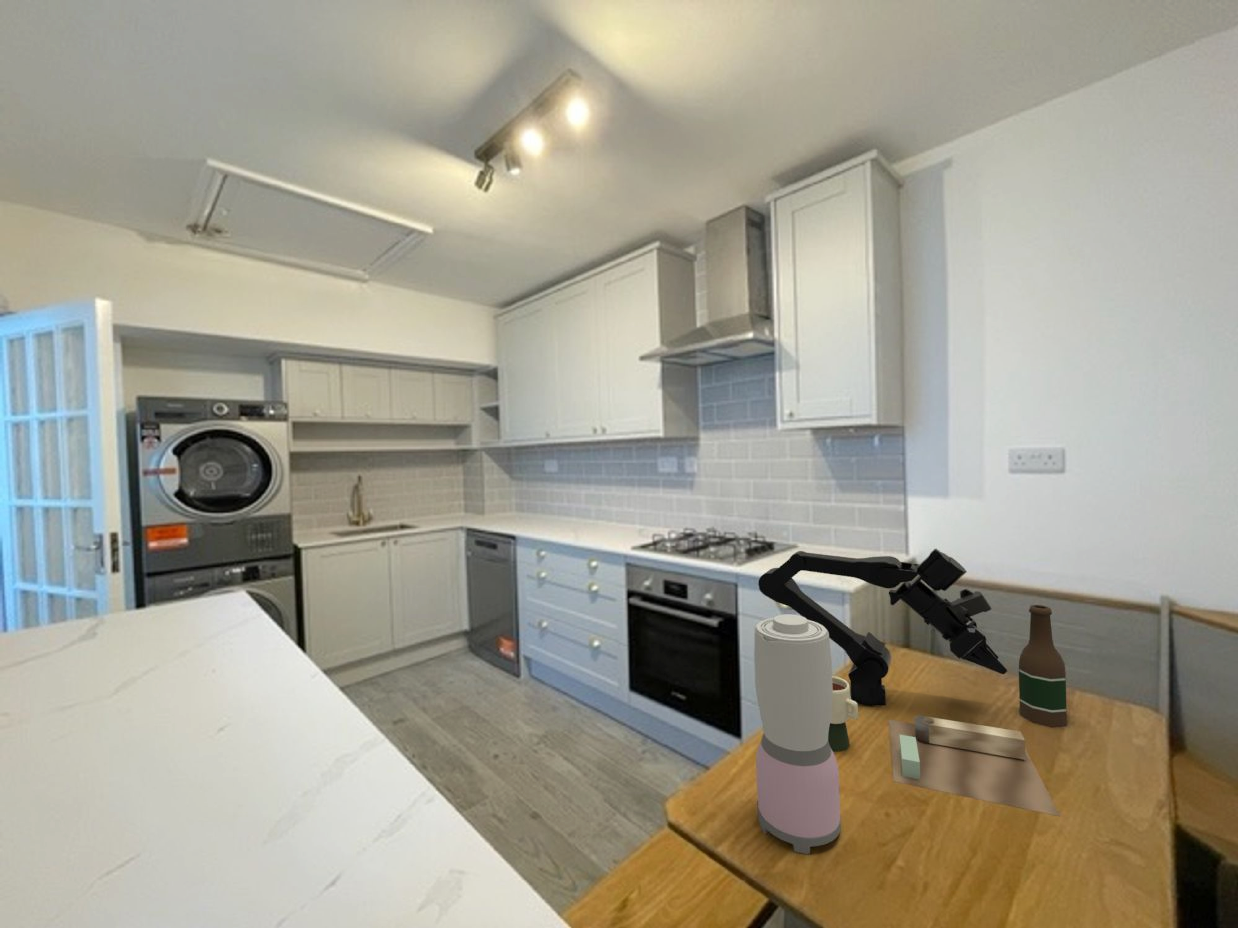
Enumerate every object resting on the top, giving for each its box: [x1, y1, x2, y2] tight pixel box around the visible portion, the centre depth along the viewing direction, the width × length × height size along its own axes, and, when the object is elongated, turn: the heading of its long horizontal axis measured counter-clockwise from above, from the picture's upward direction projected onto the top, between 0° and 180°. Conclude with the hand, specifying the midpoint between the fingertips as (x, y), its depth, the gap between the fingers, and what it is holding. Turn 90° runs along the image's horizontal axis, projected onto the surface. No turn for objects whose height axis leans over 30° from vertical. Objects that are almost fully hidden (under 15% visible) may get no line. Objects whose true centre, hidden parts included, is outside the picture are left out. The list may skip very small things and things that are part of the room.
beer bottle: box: [1018, 604, 1068, 729], centre depth 103 cm, size 8×8×24 cm
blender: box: [753, 613, 842, 855], centre depth 80 cm, size 16×12×32 cm
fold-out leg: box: [914, 715, 1026, 760], centre depth 94 cm, size 17×3×4 cm, turn 64°
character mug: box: [828, 675, 859, 753], centre depth 98 cm, size 11×7×13 cm, turn 35°
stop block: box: [899, 734, 920, 780], centre depth 90 cm, size 3×8×3 cm, turn 154°
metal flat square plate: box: [887, 719, 1061, 817], centre depth 91 cm, size 22×21×2 cm
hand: (1001, 665), depth 100 cm, fingers open, 9 cm apart
